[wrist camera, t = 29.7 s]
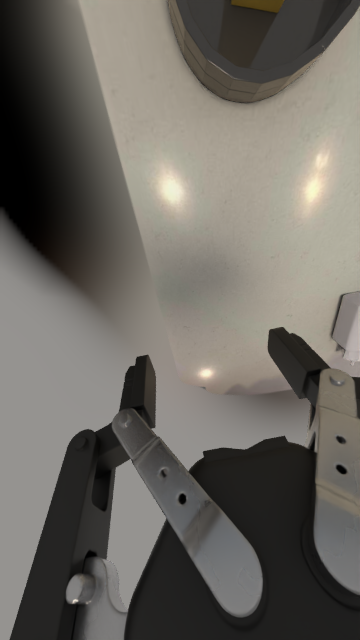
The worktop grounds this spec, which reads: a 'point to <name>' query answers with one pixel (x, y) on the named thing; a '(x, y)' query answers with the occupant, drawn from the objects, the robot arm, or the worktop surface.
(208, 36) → the pan
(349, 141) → the worktop surface
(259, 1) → the cheese
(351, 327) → the charger
